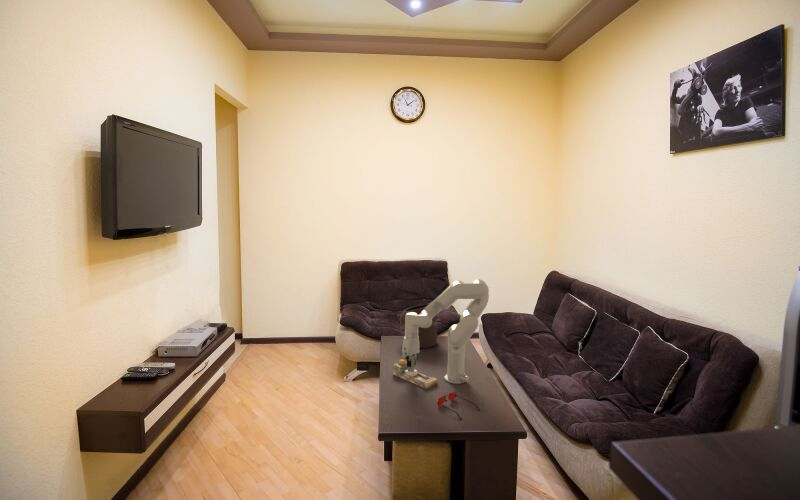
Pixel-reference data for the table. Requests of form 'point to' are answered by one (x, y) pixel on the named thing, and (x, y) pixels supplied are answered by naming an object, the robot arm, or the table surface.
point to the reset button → (402, 362)
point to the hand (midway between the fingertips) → (411, 365)
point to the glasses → (451, 397)
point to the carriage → (411, 370)
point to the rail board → (418, 379)
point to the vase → (425, 334)
